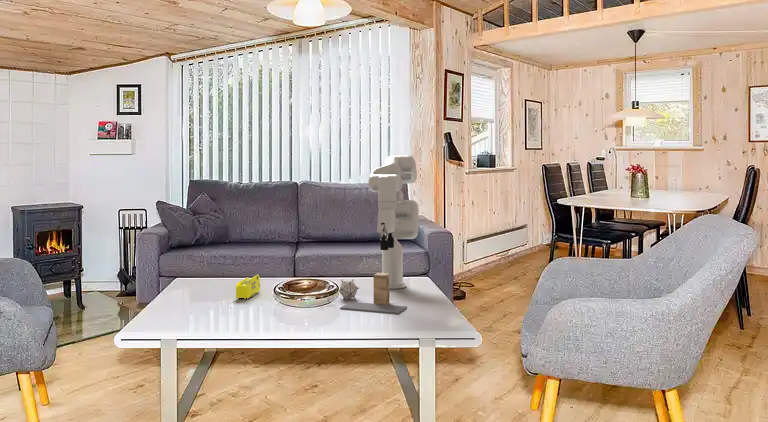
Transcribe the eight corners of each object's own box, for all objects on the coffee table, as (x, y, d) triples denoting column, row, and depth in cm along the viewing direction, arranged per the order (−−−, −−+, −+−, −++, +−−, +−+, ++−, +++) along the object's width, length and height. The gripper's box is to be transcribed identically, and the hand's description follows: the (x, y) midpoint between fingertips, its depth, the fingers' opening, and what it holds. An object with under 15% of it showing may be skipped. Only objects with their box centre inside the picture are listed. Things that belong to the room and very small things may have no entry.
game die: (351, 308, 246) (355, 292, 240) (333, 300, 247) (336, 284, 241) (359, 294, 253) (363, 278, 246) (341, 286, 254) (345, 270, 248)
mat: (351, 303, 240) (351, 301, 240) (407, 307, 231) (407, 306, 231) (340, 309, 230) (340, 307, 230) (398, 314, 222) (398, 312, 221)
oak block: (378, 301, 242) (377, 272, 241) (389, 302, 240) (389, 273, 239) (373, 304, 237) (373, 275, 236) (385, 305, 236) (385, 275, 235)
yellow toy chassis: (248, 300, 246) (248, 280, 245) (235, 300, 246) (235, 280, 246) (261, 292, 261) (260, 273, 261) (248, 292, 262) (248, 273, 261)
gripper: (385, 203, 252) (386, 245, 253) (370, 206, 235) (371, 251, 237) (402, 204, 249) (402, 246, 250) (388, 207, 233) (388, 252, 234)
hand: (387, 248), depth 244 cm, fingers open, 6 cm apart
